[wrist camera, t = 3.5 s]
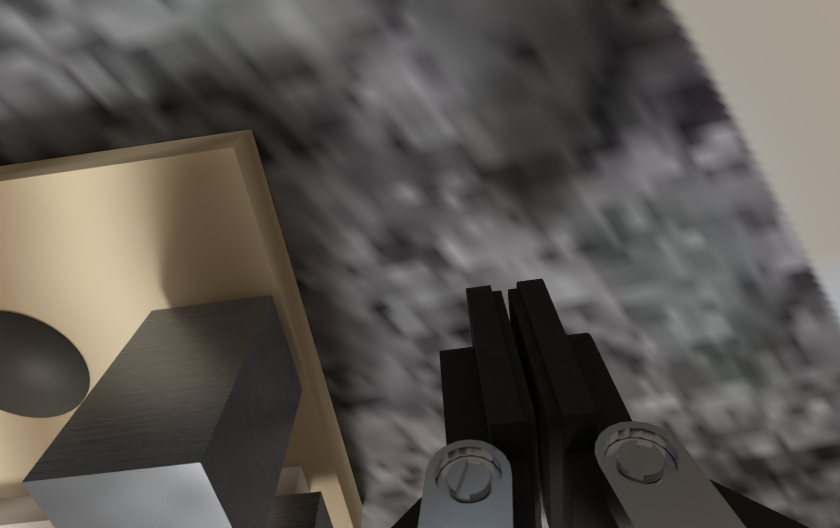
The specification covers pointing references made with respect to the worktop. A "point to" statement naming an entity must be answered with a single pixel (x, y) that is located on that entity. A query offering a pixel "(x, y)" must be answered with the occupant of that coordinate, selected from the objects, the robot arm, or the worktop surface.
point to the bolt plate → (142, 293)
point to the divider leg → (184, 429)
